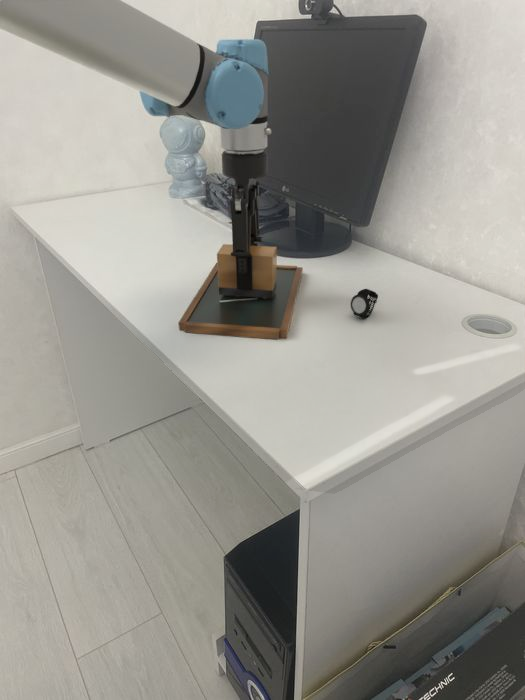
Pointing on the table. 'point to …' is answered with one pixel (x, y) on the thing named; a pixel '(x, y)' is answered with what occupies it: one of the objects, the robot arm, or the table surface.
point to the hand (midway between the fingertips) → (247, 282)
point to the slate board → (244, 309)
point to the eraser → (261, 272)
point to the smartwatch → (363, 303)
